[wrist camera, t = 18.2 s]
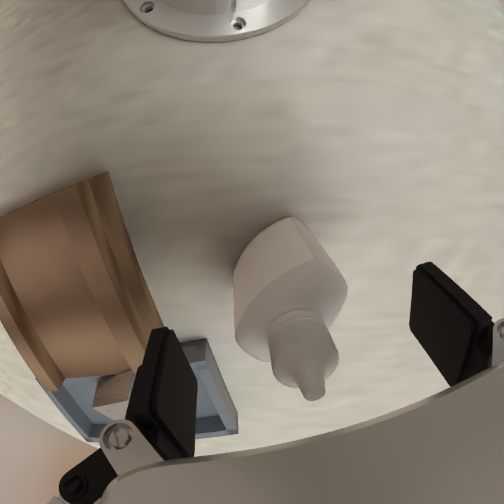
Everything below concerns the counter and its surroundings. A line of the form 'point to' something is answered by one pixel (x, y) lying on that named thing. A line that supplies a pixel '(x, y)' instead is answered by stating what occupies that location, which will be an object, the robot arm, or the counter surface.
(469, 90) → the counter surface
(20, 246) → the slot block
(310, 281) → the eye dropper bottle
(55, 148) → the counter surface
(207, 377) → the tray
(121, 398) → the chip
